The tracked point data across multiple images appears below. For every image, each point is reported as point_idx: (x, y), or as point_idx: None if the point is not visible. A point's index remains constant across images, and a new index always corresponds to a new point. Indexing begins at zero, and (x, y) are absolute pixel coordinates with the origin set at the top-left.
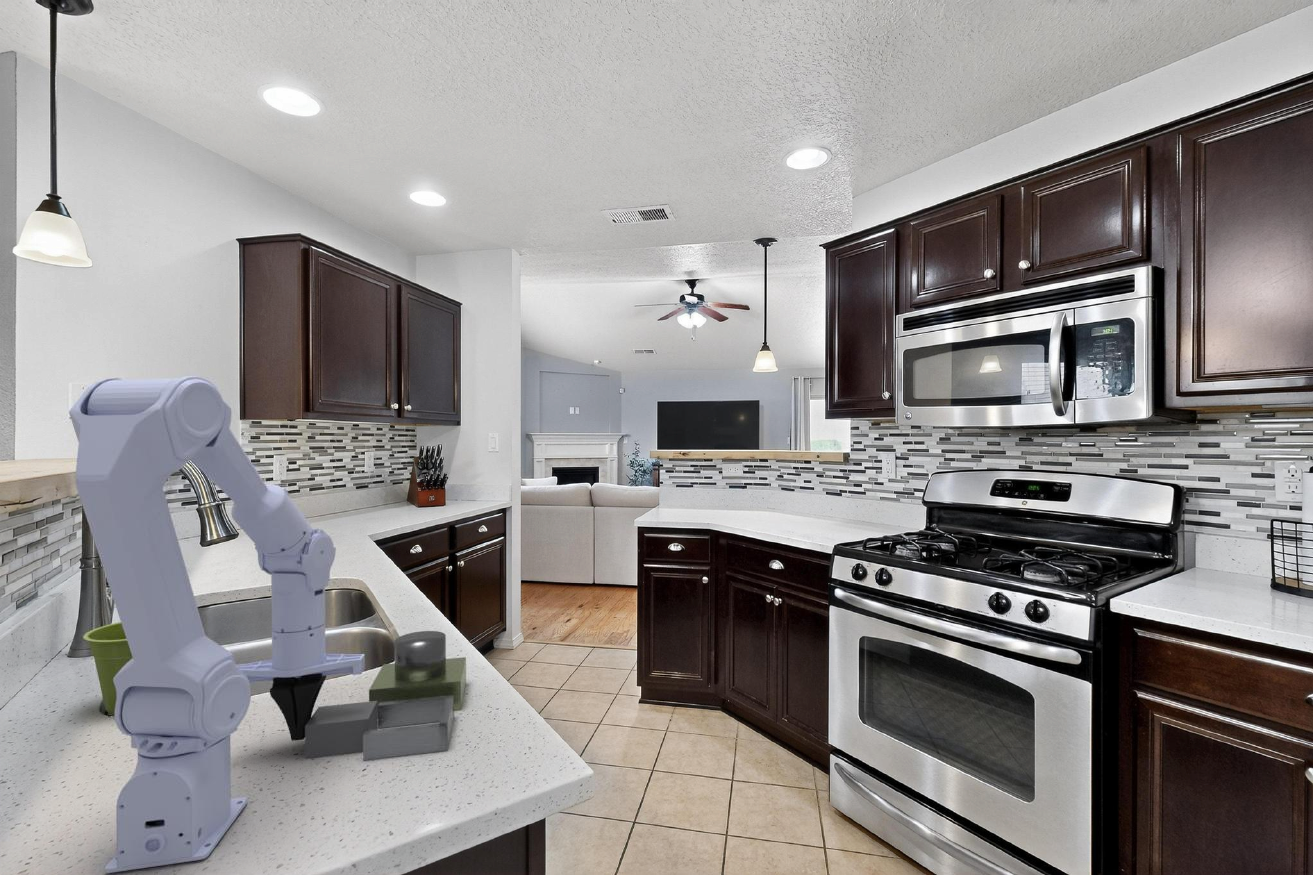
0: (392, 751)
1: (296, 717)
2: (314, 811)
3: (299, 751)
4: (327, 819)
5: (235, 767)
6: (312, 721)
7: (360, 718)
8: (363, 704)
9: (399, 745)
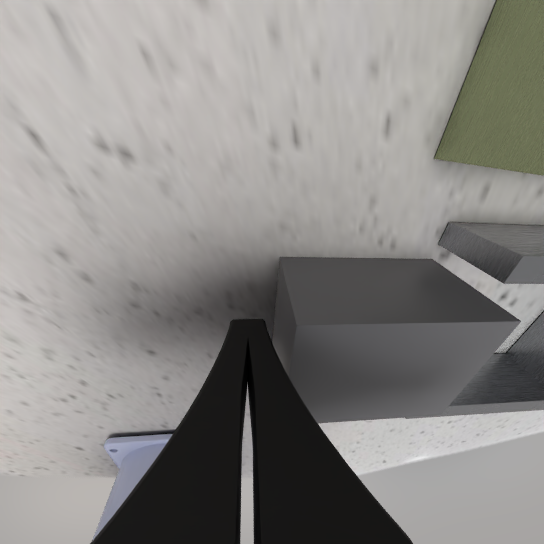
0: None
1: (243, 414)
2: None
3: (248, 315)
4: None
5: (128, 350)
6: None
7: (423, 411)
8: (463, 339)
9: None
